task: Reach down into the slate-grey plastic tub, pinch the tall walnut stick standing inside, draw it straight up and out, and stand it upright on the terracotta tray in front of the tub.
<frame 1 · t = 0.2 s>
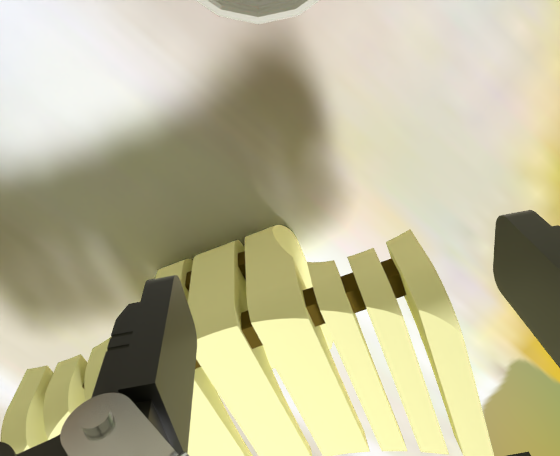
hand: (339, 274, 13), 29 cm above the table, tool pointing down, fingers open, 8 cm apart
slatted curved stool: (249, 296, 49), on the table
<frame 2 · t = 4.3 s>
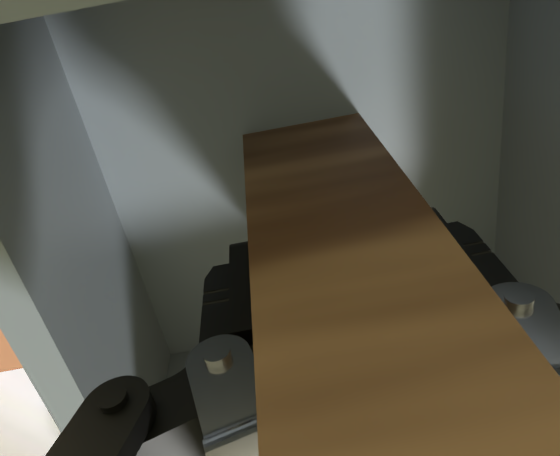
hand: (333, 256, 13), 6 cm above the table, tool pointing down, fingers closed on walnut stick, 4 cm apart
walnut stick: (308, 177, 18), point 1 cm above the table, touching grey tub, gripper
grey tub: (305, 166, 19), on the table
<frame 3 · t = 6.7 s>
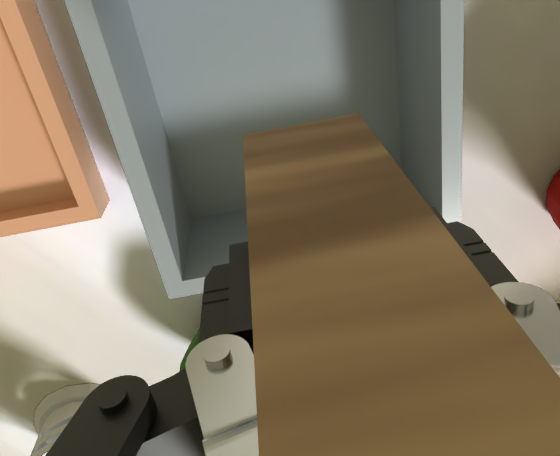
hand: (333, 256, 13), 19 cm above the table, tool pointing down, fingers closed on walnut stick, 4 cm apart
walnut stick: (308, 177, 18), point 14 cm above the table, touching gripper
grey tub: (277, 89, 30), on the table
french press: (85, 425, 42), on the table
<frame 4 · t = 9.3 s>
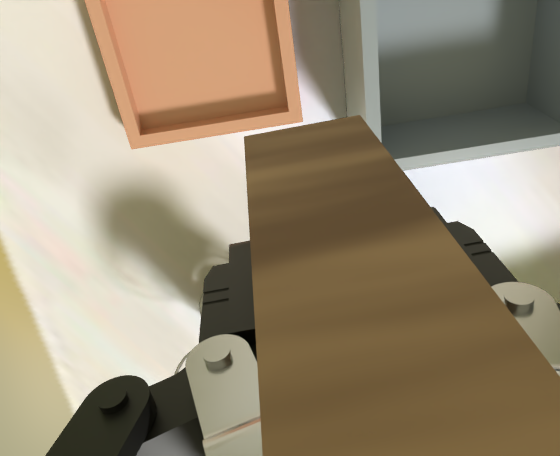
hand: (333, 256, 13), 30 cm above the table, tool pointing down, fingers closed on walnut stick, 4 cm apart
walnut stick: (309, 178, 18), point 25 cm above the table, touching gripper
grey tub: (441, 27, 39), on the table
terracotta tray: (199, 39, 39), on the table
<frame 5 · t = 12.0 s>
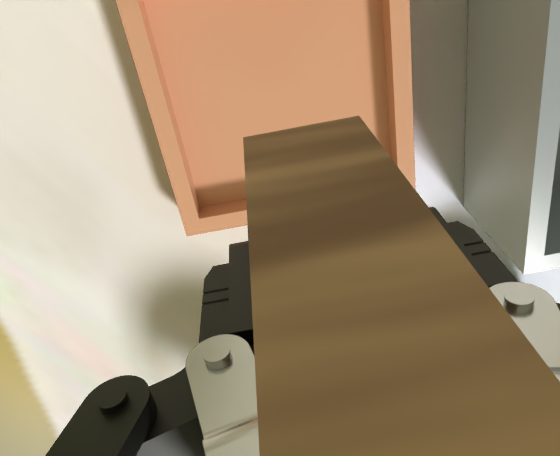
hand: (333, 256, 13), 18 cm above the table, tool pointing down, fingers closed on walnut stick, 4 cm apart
walnut stick: (308, 179, 18), point 13 cm above the table, touching gripper
terracotta tray: (278, 89, 29), on the table
when the fingers open (8 cm above the table, at t = 14.3 s): walnut stick drops 1 cm, resting on terracotta tray.
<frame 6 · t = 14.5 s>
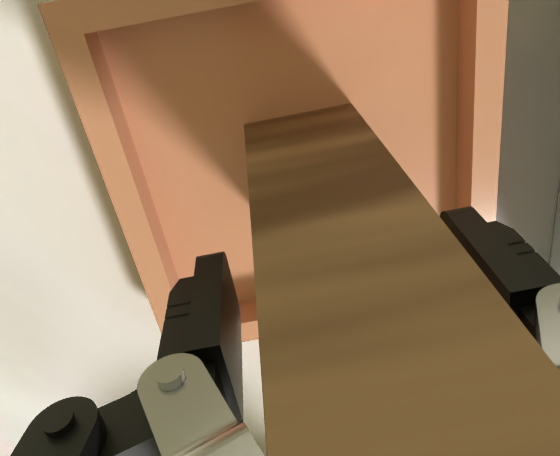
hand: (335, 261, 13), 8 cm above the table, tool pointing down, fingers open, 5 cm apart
walnut stick: (305, 163, 19), point 1 cm above the table, touching terracotta tray
terracotta tray: (299, 153, 20), on the table
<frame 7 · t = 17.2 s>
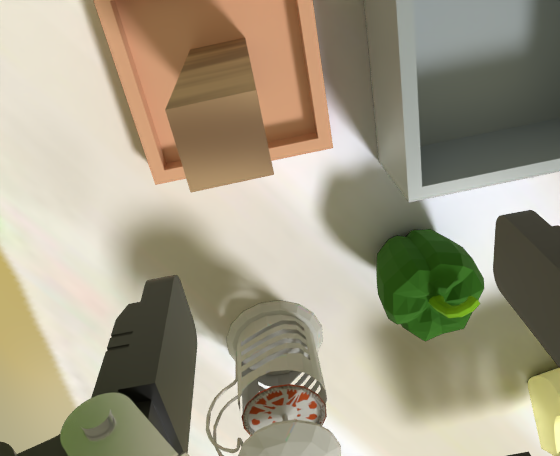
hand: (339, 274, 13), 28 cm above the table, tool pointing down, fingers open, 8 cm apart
walnut stick: (224, 71, 36), point 1 cm above the table, touching terracotta tray
bell pepper: (407, 253, 47), on the table
grey tub: (472, 43, 38), on the table
terracotta tray: (223, 68, 37), on the table
french press: (266, 341, 50), on the table
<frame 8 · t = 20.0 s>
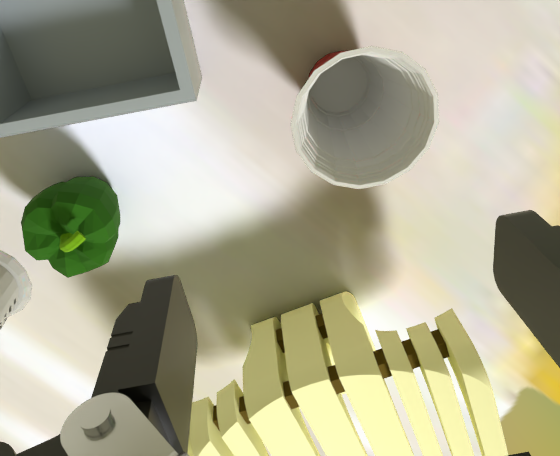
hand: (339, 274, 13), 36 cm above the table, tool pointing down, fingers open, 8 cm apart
plastic cup: (335, 84, 47), on the table
slatted curved stool: (315, 341, 62), on the table
bell pepper: (90, 201, 50), on the table
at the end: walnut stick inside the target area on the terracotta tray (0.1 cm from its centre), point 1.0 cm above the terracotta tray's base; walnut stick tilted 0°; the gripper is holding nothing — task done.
